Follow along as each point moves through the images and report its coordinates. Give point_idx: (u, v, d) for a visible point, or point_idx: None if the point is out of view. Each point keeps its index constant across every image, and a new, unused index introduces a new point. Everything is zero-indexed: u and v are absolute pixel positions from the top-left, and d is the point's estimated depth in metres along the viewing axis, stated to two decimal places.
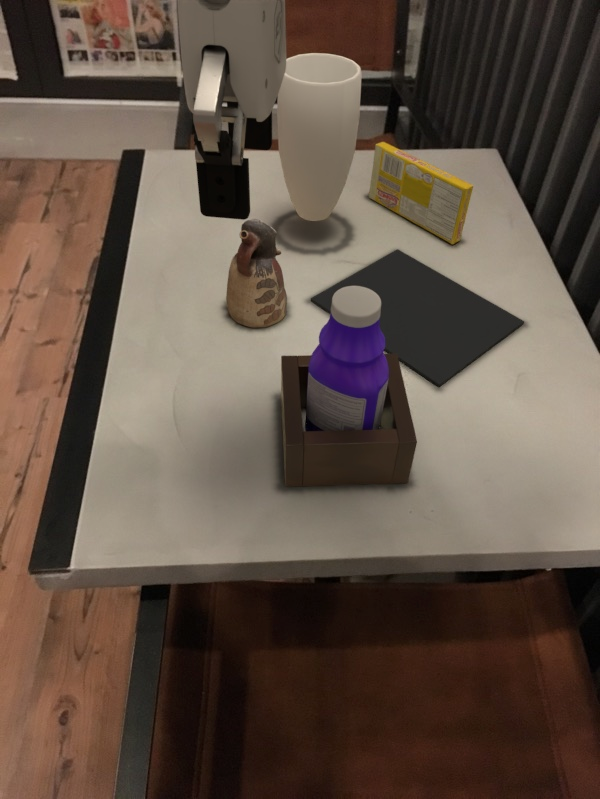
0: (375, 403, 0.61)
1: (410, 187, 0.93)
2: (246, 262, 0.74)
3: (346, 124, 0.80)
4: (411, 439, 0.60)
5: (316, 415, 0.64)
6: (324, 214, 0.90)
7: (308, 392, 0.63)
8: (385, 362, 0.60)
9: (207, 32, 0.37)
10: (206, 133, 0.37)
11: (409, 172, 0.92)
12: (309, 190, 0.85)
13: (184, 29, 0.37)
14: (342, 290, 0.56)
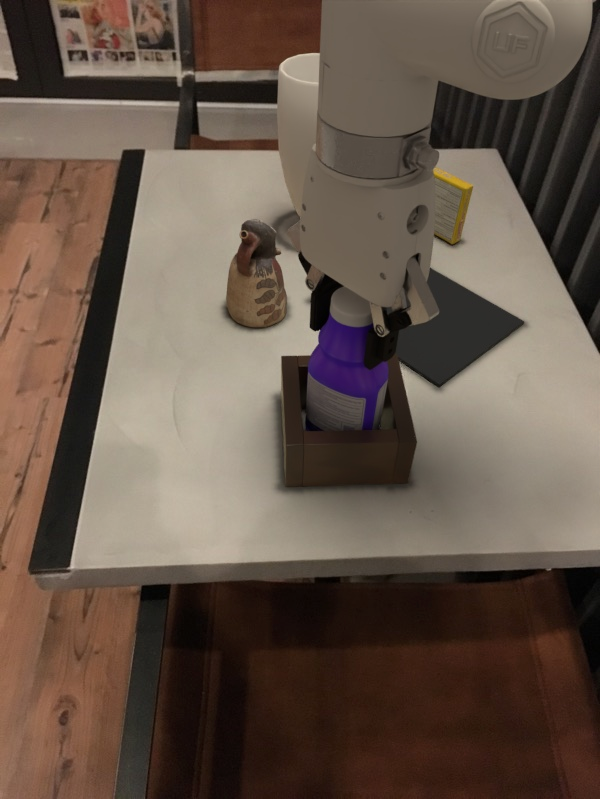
0: (375, 403, 0.61)
1: None
2: (246, 262, 0.74)
3: None
4: (411, 439, 0.60)
5: (316, 415, 0.64)
6: None
7: (308, 392, 0.63)
8: (384, 362, 0.60)
9: (412, 249, 0.48)
10: None
11: None
12: None
13: (397, 254, 0.47)
14: (341, 290, 0.57)
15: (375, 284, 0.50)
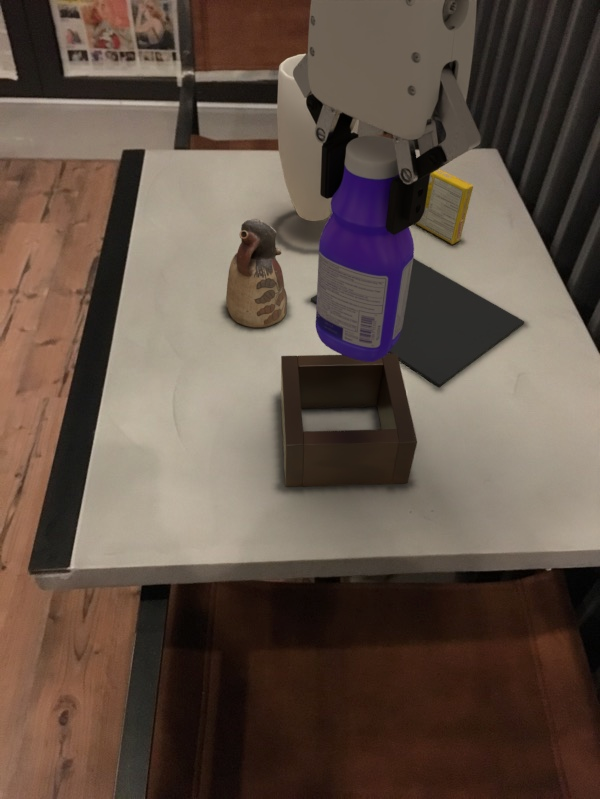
0: (398, 285, 0.51)
1: None
2: (246, 262, 0.74)
3: None
4: (411, 439, 0.60)
5: (329, 306, 0.54)
6: (324, 214, 0.90)
7: (319, 279, 0.54)
8: (410, 234, 0.51)
9: (448, 51, 0.38)
10: (461, 154, 0.41)
11: None
12: (309, 190, 0.85)
13: (430, 56, 0.38)
14: (358, 139, 0.47)
15: (402, 105, 0.40)
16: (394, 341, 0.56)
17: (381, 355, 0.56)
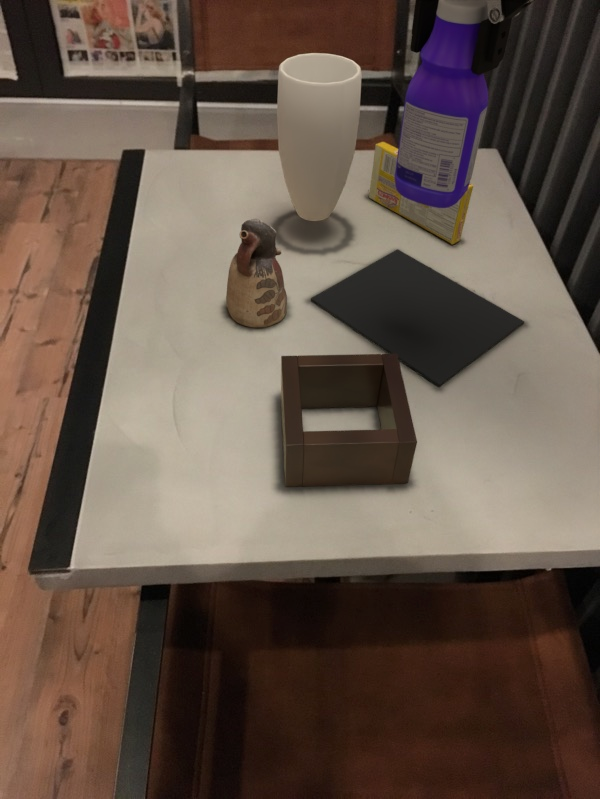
0: (475, 128, 0.60)
1: None
2: (246, 262, 0.74)
3: (346, 124, 0.80)
4: (411, 439, 0.60)
5: (411, 154, 0.63)
6: (324, 214, 0.90)
7: (403, 129, 0.62)
8: (486, 84, 0.59)
9: None
10: None
11: None
12: (309, 190, 0.85)
13: None
14: None
15: None
16: (465, 189, 0.65)
17: (454, 201, 0.65)
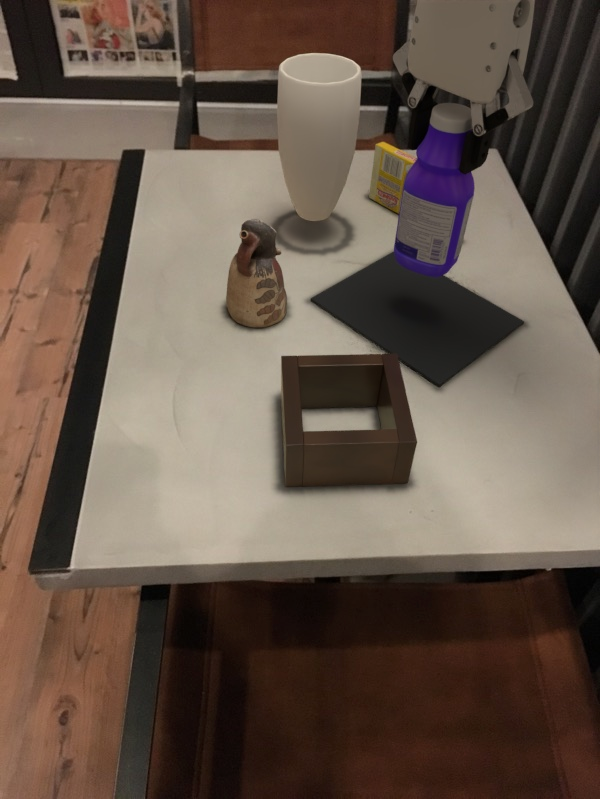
0: (463, 214, 0.70)
1: None
2: (246, 262, 0.74)
3: (346, 124, 0.80)
4: (411, 439, 0.60)
5: (408, 232, 0.73)
6: (324, 214, 0.90)
7: (401, 211, 0.72)
8: (472, 177, 0.69)
9: (514, 42, 0.57)
10: None
11: None
12: (309, 190, 0.85)
13: (503, 45, 0.56)
14: (440, 105, 0.66)
15: (480, 79, 0.59)
16: (454, 261, 0.75)
17: (445, 271, 0.75)
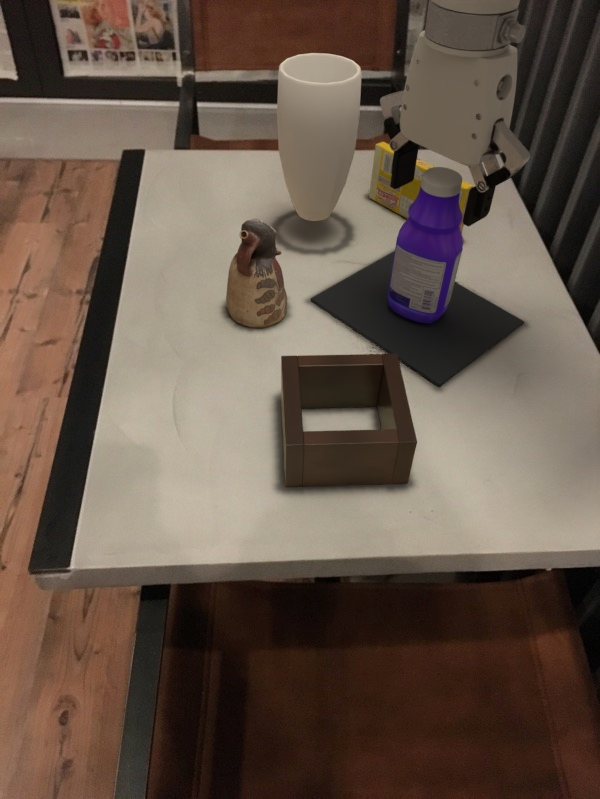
0: (452, 268, 0.74)
1: (410, 187, 0.93)
2: (246, 262, 0.74)
3: (346, 124, 0.80)
4: (411, 439, 0.60)
5: (401, 283, 0.78)
6: (324, 214, 0.90)
7: (394, 264, 0.77)
8: (461, 234, 0.74)
9: (498, 113, 0.61)
10: (519, 167, 0.63)
11: None
12: (309, 190, 0.85)
13: (487, 116, 0.61)
14: (430, 169, 0.70)
15: (466, 145, 0.63)
16: (445, 309, 0.79)
17: (435, 319, 0.79)
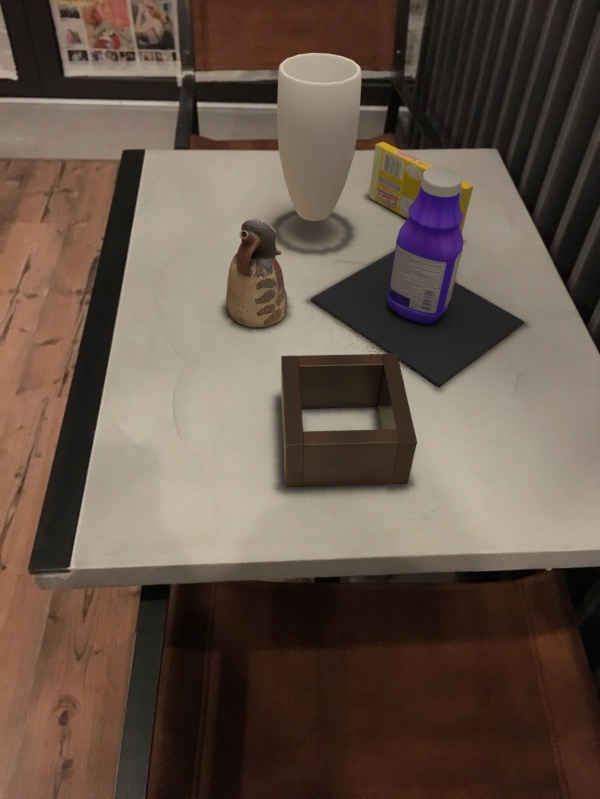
0: (452, 268, 0.74)
1: (410, 187, 0.93)
2: (246, 262, 0.74)
3: (346, 124, 0.80)
4: (411, 439, 0.60)
5: (401, 283, 0.78)
6: (324, 214, 0.90)
7: (395, 264, 0.77)
8: (461, 234, 0.74)
9: None
10: None
11: (409, 172, 0.92)
12: (309, 190, 0.85)
13: None
14: (430, 169, 0.70)
15: None
16: (445, 309, 0.79)
17: (435, 319, 0.79)
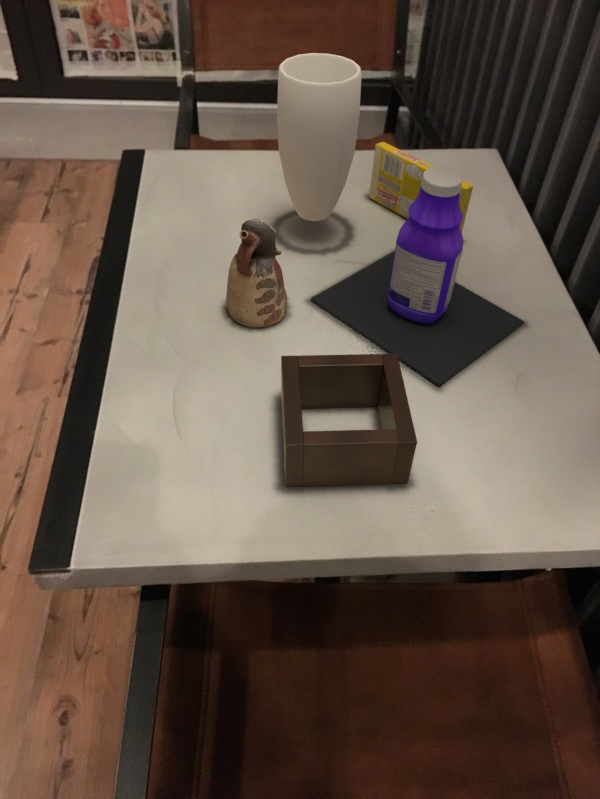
0: (452, 268, 0.74)
1: (410, 187, 0.93)
2: (246, 262, 0.74)
3: (346, 124, 0.80)
4: (411, 439, 0.60)
5: (401, 283, 0.78)
6: (324, 214, 0.90)
7: (395, 264, 0.77)
8: (461, 234, 0.74)
9: None
10: None
11: (409, 172, 0.92)
12: (309, 190, 0.85)
13: None
14: (430, 169, 0.70)
15: None
16: (445, 309, 0.79)
17: (435, 319, 0.79)
